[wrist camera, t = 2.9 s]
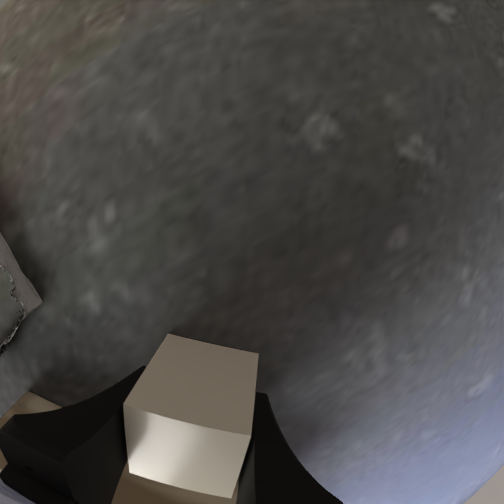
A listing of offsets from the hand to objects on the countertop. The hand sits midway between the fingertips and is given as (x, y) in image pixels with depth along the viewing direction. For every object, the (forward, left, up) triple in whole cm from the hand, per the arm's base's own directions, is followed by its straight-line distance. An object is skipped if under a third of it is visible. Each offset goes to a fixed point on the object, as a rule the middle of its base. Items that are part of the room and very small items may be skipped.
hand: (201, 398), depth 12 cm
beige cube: (0, 0, -1) cm, 1 cm away
